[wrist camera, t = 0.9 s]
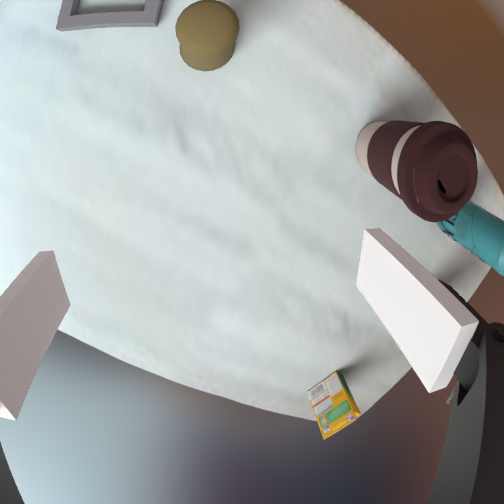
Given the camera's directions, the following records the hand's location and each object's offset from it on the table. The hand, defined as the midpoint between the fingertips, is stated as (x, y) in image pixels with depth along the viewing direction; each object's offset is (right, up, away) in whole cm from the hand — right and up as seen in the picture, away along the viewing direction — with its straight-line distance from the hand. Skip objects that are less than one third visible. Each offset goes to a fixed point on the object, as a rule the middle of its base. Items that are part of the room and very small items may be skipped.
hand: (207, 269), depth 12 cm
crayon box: (+16, -25, +44) cm, 53 cm away
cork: (-3, +23, +16) cm, 29 cm away
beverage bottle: (+32, +7, +30) cm, 44 cm away
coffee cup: (+18, +14, +24) cm, 33 cm away
